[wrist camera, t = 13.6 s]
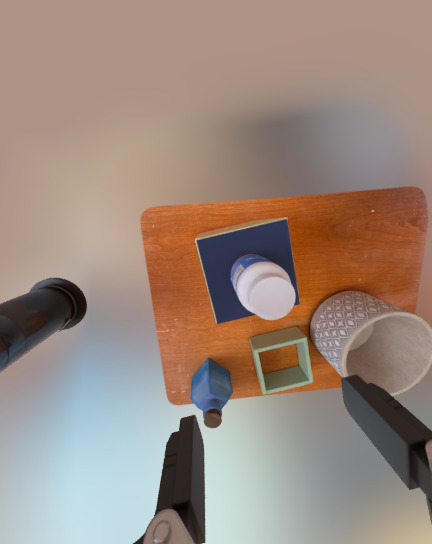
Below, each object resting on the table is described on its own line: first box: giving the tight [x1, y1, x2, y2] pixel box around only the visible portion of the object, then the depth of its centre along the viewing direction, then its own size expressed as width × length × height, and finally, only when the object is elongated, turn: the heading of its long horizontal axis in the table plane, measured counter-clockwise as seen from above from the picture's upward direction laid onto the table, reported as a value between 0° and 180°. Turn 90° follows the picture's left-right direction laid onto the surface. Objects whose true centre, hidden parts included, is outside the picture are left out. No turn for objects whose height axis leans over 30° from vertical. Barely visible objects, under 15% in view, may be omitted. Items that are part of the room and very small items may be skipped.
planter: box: [310, 291, 432, 396], centre depth 42 cm, size 16×16×13 cm
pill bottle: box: [231, 254, 296, 320], centre depth 23 cm, size 6×5×10 cm
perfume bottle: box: [190, 358, 233, 428], centre depth 44 cm, size 6×6×12 cm
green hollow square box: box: [249, 326, 313, 395], centre depth 47 cm, size 11×11×5 cm
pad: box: [197, 219, 300, 324], centre depth 28 cm, size 12×12×1 cm
